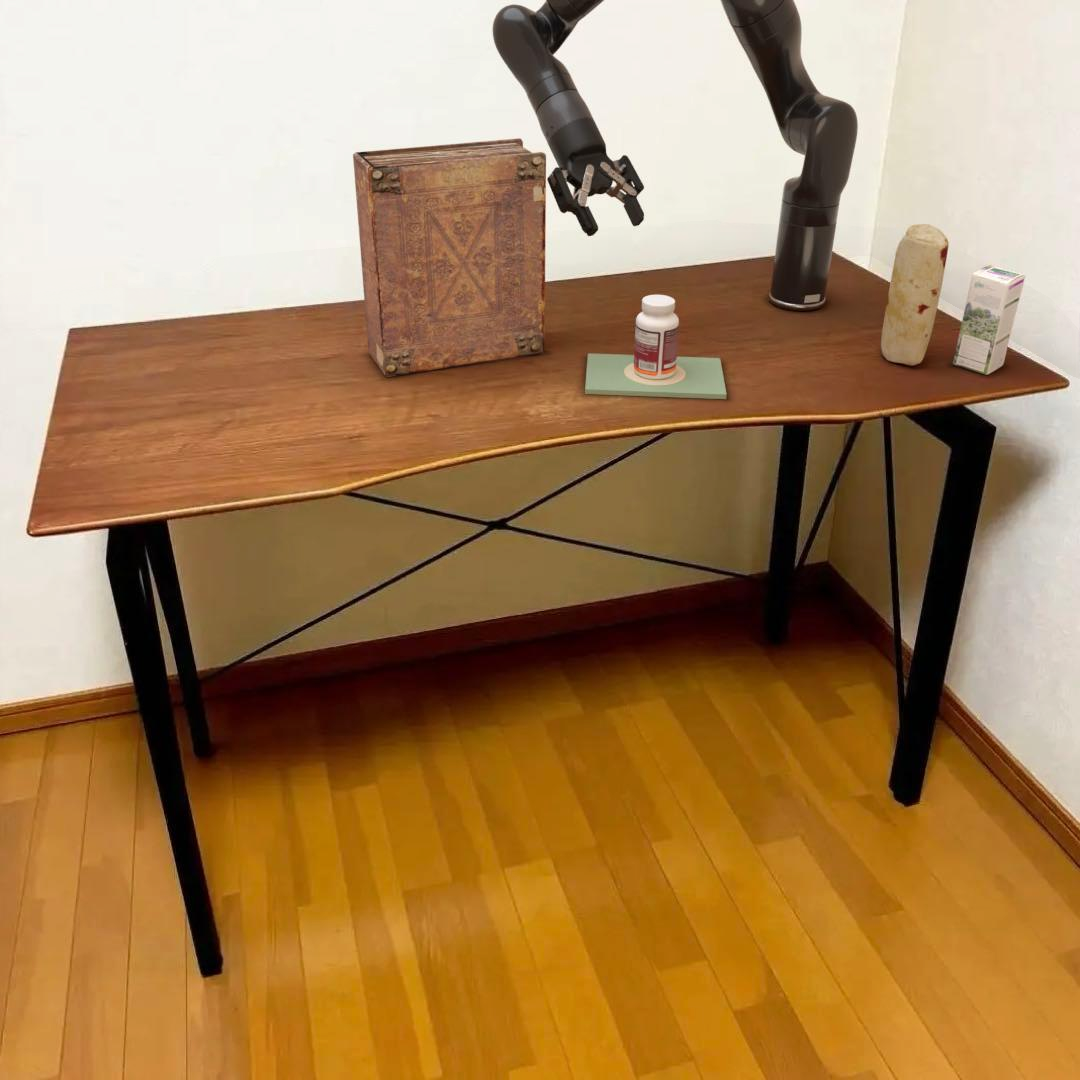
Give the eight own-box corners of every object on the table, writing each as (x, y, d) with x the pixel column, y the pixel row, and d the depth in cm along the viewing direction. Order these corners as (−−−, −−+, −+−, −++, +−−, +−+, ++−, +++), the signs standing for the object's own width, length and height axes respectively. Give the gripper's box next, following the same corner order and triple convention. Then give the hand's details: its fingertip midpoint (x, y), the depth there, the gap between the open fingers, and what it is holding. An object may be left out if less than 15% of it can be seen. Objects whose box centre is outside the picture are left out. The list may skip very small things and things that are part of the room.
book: (522, 332, 178) (523, 137, 162) (544, 354, 171) (548, 152, 155) (367, 355, 170) (352, 151, 154) (384, 378, 163) (370, 167, 147)
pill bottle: (668, 362, 167) (674, 291, 161) (680, 379, 162) (686, 306, 156) (628, 365, 166) (632, 293, 160) (639, 382, 160) (643, 308, 155)
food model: (936, 369, 168) (964, 237, 157) (894, 371, 167) (920, 239, 156) (907, 344, 176) (933, 217, 165) (867, 346, 175) (890, 219, 164)
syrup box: (1004, 365, 169) (1027, 272, 161) (986, 376, 166) (1009, 282, 158) (968, 354, 173) (990, 263, 165) (950, 365, 169) (971, 272, 161)
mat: (587, 358, 170) (587, 352, 169) (719, 362, 169) (720, 357, 168) (584, 394, 159) (585, 388, 158) (726, 399, 158) (726, 393, 157)
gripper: (542, 121, 157) (590, 222, 155) (620, 109, 164) (667, 206, 163) (520, 153, 164) (566, 250, 162) (596, 140, 171) (641, 233, 169)
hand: (616, 228), depth 162 cm, fingers open, 8 cm apart
